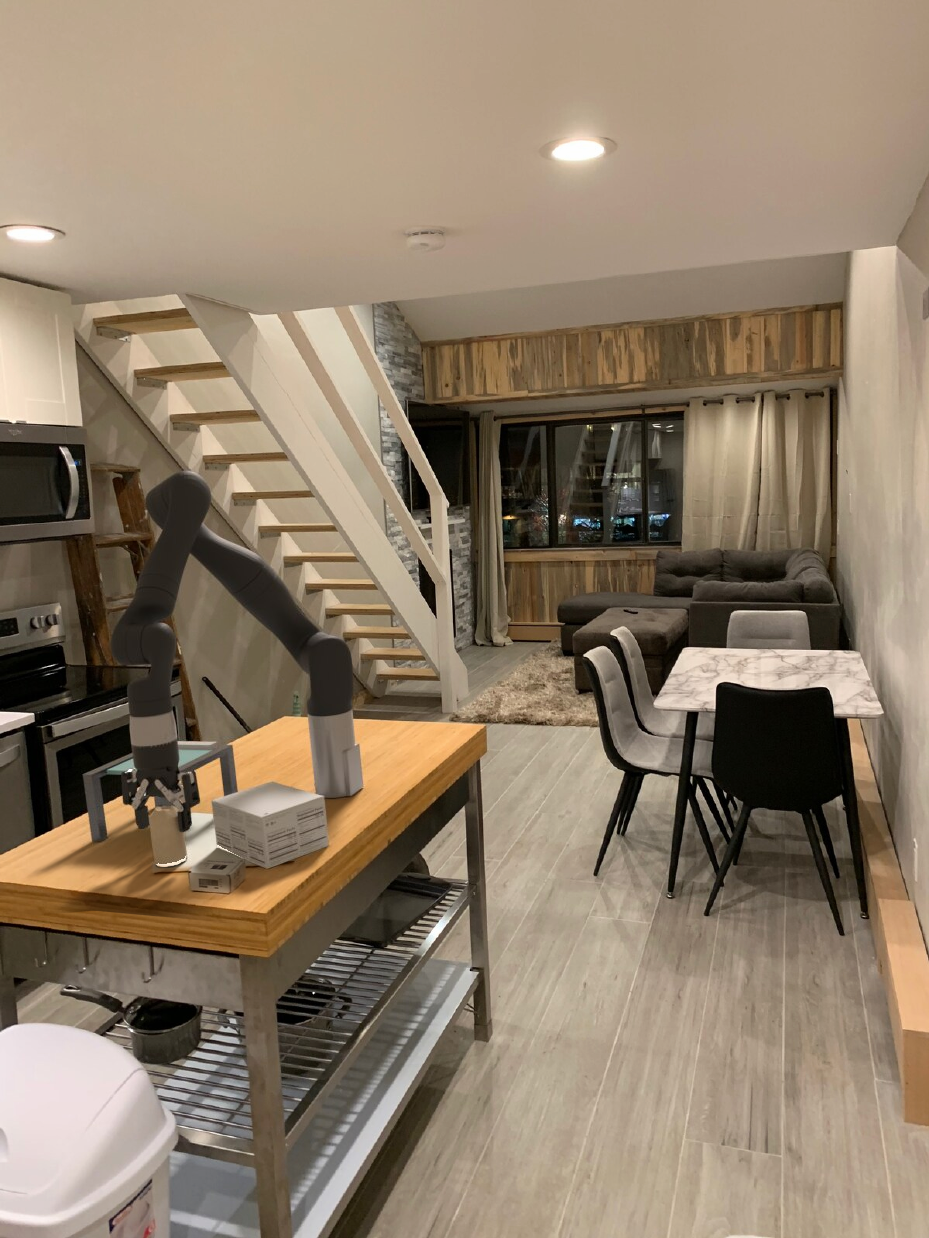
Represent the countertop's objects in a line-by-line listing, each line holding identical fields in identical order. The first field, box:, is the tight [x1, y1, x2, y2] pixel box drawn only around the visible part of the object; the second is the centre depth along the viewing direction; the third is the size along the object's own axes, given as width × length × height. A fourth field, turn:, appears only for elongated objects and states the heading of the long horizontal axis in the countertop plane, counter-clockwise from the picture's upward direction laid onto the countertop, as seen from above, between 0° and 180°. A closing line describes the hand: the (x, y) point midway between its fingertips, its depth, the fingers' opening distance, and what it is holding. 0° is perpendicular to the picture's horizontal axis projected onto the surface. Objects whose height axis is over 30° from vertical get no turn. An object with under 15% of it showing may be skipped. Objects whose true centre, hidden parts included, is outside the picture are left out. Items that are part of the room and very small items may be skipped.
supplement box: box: [211, 781, 330, 870], centre depth 165 cm, size 17×13×9 cm
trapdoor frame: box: [82, 744, 239, 843], centre depth 181 cm, size 21×19×13 cm
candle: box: [149, 805, 188, 865], centre depth 161 cm, size 6×6×10 cm
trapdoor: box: [107, 740, 219, 776], centre depth 182 cm, size 17×14×2 cm
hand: (164, 829), depth 161 cm, fingers open, 8 cm apart
